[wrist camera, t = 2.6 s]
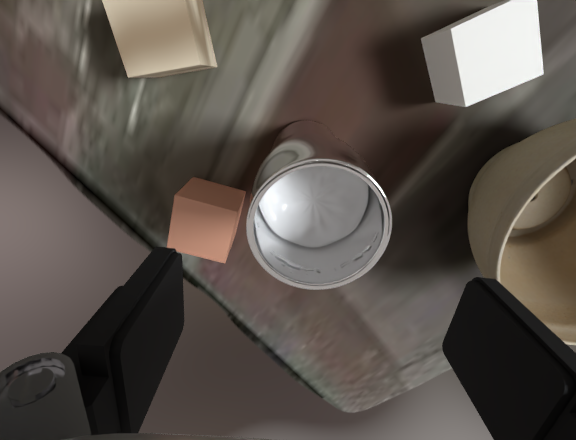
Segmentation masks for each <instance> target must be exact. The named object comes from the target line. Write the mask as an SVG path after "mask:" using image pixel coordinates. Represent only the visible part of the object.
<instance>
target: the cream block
mask: <svg viewBox="0 0 576 440" xmlns="http://www.w3.org/2000/svg"><path fill="white" fill-rule="evenodd" d="M421 42H422V46H423V50H424V55H425V59H426V63H427V68H428V72H429V76H430V81H431V85H432V90H433V94H434V98H435V102H437V103H444V104H450V105H456V106H463V107H467V106H469V105H472V104H474V103H477V102H479V101H481V100H484V99H486V98H488V97H491V96H493V95H496V94H498V93H500V92H503V91H505V90H507V89H510V88H512V87H515V86H517V85H519V84H522V83H524V82H526V81H529V80H531V79H534V78H536V77H538V76H541V75H543V74H544V72H543V62H542V51H541V40H540V29H539V18H538V7H537V0H505V1H502V2H499V3H497V4H494V5H491V6H489V7H486V8H484V9H482V10H480V11H478V12H476V13H474V14H472V15H469V16H467V17H465V18H463V19H461V20H459V21H457V22H455V23H452V24H450V25H448V26H446V27H444V28H442V29H440V30H438V31H435V32H433V33H431V34H429V35H427V36H425V37H423V38H421Z"/></svg>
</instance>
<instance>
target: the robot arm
mask: <svg viewBox="0 0 576 440" xmlns="http://www.w3.org/2000/svg"><path fill="white" fill-rule="evenodd" d="M183 326H184V301H183V269H182V255H181V254H180V253H177V252H176V249H175V248H165V247H155V248H154V249H153V251H152V252H151V253H150V254H149V255H148V257H147V258H146V259H145V260H144V262H143V263H142V264H141V265H140V266H139V268H138V269H137V270H136V272H135V273H134V274H133V275H132V276H131V277H130V279H129V280H128V281H127V282H126V283H125V285H124V286H119V287H118V288H117V289H116V290H115V291H114V292H113V293H112V294H111V295H110V297H109V298H108V299H107V300H106V301H105V302H104V304H103V305H102V306H101V307H100V308H99V309H98V311H97V312H96V313H95V314H94V315H93V316H92V318H91V319H90V320H89V321H88V323H87V324H86V325H85V326H84V327H83V328H82V329H81V331H80V332H79V333H78V334H77V335H76V337H75V338H74V339H73V340H72V341H71V343H70V344H69V345H68V346H67V347H66V348H65V349H64V351H63V352H62V353H54V352H51V353H41V354H37V355H33V356H29V357H27V358H24V359H22V360H20V361H18V362H15V363H14V364H12V365H11V366H9V367H7V368H6V369H4V370H3V371H1V372H0V440H270V439H254V438H253V439H252V438H238V437H222V436H200V435H178V434H155V433H154V434H153V433H145V434H144V433H138V432H139V429H140V427H141V425H142V423H143V420H144V418H145V416H146V414H147V411H148V409H149V406H150V404H151V402H152V400H153V397H154V395H155V393H156V390H157V388H158V386H159V384H160V381H161V379H162V377H163V374H164V372H165V370H166V367H167V365H168V362H169V360H170V358H171V356H172V353H173V351H174V349H175V347H176V344H177V342H178V340H179V337H180V335H181V332H182V330H183ZM442 347H443V352H444V355H445V356H446V358H447V360H448V361H449V363H450V365H451V367H452V368H453V370H454V372H455V373H456V375H457V377H458V379H459V380H460V382H461V384H462V386H463V387H464V389H465V391H466V392H467V394H468V396H469V397H470V399H471V401H472V403H473V404H474V406H475V408H476V409H477V411H478V413H479V415H480V416H481V418H482V420H483V422H484V423H485V425H486V427H487V428H488V430H489V432H490V434H491V435H492V437H493V439H494V440H576V353H575V352H574V351H573V350H572V349H570V347H569V346H567V345H566V344H565V343H564V342H563V341H562V340H561V339H560V338H559V337H558V336H557V335H556V334H555V333H553V332H552V331H551V330H550V329H549V328H548V327H547V326H546V325H545V324H544V323H543V322H542V321H541V320H539V319H538V318H537V317H536V316H535V315H534V314H533V313H532V312H531V311H530V310H529V309H528V308H527V307H525V306H524V305H523V304H522V303H521V302H520V301H519V300H518V299H517V298H516V297H515V296H514V295H513V294H511V293H510V292H509V291H508V290H507V289H506V288H505V287H504V286H503V285H502V284H501V283H500V282H499V281H497V280H496V279H491V278H480V277H476V278H474V279H472V281H469V282H468V283H467V284H466V287H465V289H464V292H463V294H462V296H461V299H460V301H459V304H458V306H457V309H456V311H455V314H454V316H453V319H452V321H451V323H450V326H449V328H448V331H447V333H446V336H445V338H444V341H443V345H442Z"/></svg>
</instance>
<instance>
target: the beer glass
mask: <svg viewBox="0 0 576 440" xmlns="http://www.w3.org/2000/svg"><path fill="white" fill-rule="evenodd" d="M391 231H392V213H391V208H390V204H389V201H388V199H387V196H386V194H385V193H384V191H383V189H382V188H381V186H380V185H379V183H378V181H377V179H376V177H375V176H374V174H373V172H372V170H371V169H370V167H369V166H368V165H367V163H366V162H365V160H364V159H363V158H362V157H361V156H360V154H359V153H358V152H356V151H355V150H354V149H353V148H352V147H351V146H350V145H348V144H347V143H346V142H344V141H342V140H341V139H339V138H336V137H335V135H334V134H333V133H332V131H331V130H330V129H329V128H328V127H326V126H325V125H323V124H321V123H319V122H316V121H311V120H302V121H297V122H294V123H292V124H290V125H288V126H287V127H285V128H284V129H283V130H282V131H281V132H280V133H279V134H278V135H277V137H276V139H275V141H274V143H273V147H272V150H271V151H270V152H269V153H268V155H267V156H266V157H265V159H264V160H263V162H262V164H261V166H260V168H259V170H258V172H257V174H256V176H255V179H254V183H253V187H252V191H251V196H250V203H249V210H248V214H247V220H246V232H247V238H248V242H249V246H250V248H251V251H252V253H253V255H254V256H255V258H256V260H257V261H258V262H259V264H260V265H261V266H262V267H263V268H264V269H265V270H266V271H267V272H268V273H269V274H271V275H272V276H273V277H275V278H276V279H278V280H280V281H282V282H284V283H286V284H289V285H291V286H294V287H298V288H303V289H312V290H322V289H330V288H335V287H339V286H342V285H345V284H348V283H350V282H352V281H354V280H356V279H358V278H359V277H361V276H362V275H364V274H365V273H366V272H368V271H369V270H370V269H371V268H372V267H373V266H374V265H375V264H376V263H377V262H378V260H379V259H380V258H381V256H382V255H383V253H384V251H385V249H386V247H387V245H388V242H389V240H390V236H391Z"/></svg>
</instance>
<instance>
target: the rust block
mask: <svg viewBox="0 0 576 440" xmlns="http://www.w3.org/2000/svg"><path fill="white" fill-rule="evenodd" d="M245 194H246V191H243V190H239V189H235V188H232V187H228V186H225V185H221V184H218V183H214V182H210V181H207V180H203V179H200V178H196V177H192V178H191V179H190V180H189V181H188V182H187V183H186V184H185V185H184V186H183V187H182V188H181V189H180V190H179V191H178V192H177V193H176V194H175V196H174V203H173V210H172V216H171V223H170V230H169V237H168V243H167V248H175V249H176V251H178V252H182V253H186V254H190V255H194V256H198V257H202V258H206V259H210V260H214V261H218V262H222V263H225V262H226V259H227V256H228V254H229V251H230V248H231V246H232V243H233V240H234V237H235V234H236V230H237V226H238V222H239V218H240V214H241V210H242V206H243V202H244V198H245Z"/></svg>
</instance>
